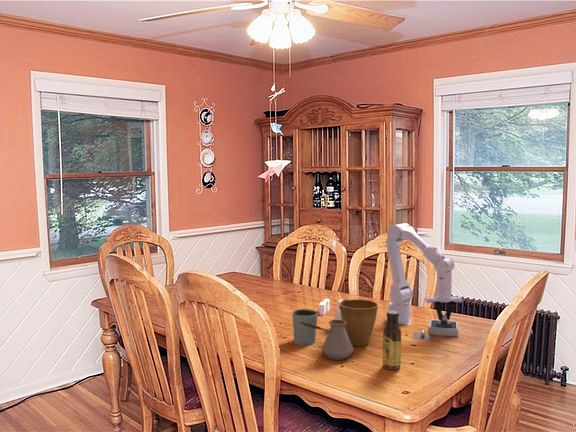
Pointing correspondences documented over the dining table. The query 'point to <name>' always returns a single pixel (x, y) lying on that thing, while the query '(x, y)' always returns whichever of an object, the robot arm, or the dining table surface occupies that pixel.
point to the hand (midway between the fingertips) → (443, 319)
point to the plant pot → (359, 320)
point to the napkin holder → (324, 306)
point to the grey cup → (304, 333)
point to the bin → (443, 329)
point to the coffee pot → (335, 340)
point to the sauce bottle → (392, 342)
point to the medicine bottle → (338, 313)
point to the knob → (444, 322)
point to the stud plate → (422, 336)
